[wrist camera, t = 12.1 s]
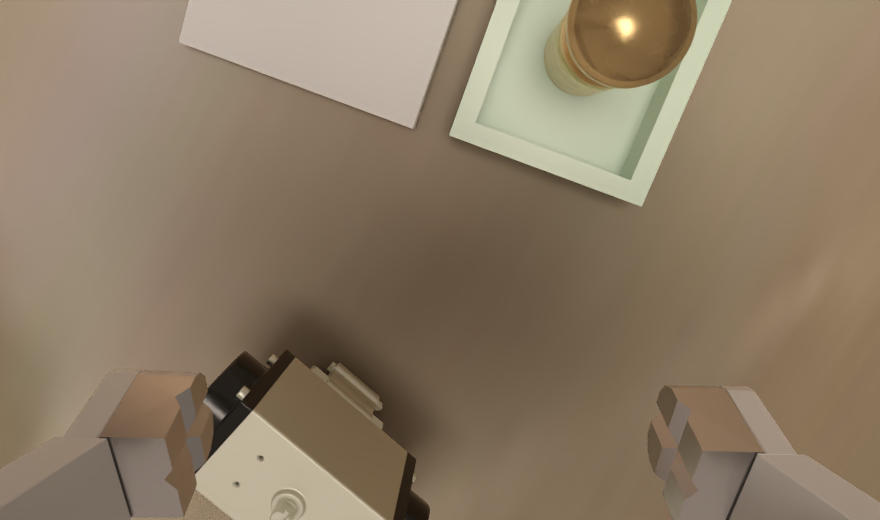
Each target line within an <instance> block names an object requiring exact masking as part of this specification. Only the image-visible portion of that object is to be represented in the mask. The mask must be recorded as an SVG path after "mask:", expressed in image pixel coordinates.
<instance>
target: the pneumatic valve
mask: <svg viewBox="0 0 880 520" xmlns="http://www.w3.org/2000/svg"><path fill="white" fill-rule="evenodd" d="M277 359H278V360H277ZM266 364H267V365H268V366H270V368H269V369H267V368H266V367H264V366H263V365H262V364H261V363H260V362H258V361H257V360H256V359H255V358H254V357H252V356H251V355H250V354H249V353H248V352H246V351H244V352H243V353H241V354H240V355H239V356H238V357H237V358H236V359H235V360H234V361H233V362H232V363H231V364H230V365H229V366H228V367H227V368H226V369H225V370H224V371H223V373H222V374H221V375H220V376H219V377H218V378H217V379H216V380H215V381H214V382H213V383H212V384H211V385H210V386H209V388H208V392H207V394H206V396H205V399H204V401H203V402H204V403H205V404H206V405H207V406H208V407H209V408H210V409H211V410H212V415H213V432H214V433H213V439H212V444H211V450H210V452H209V455H208V458H207V461H206V463H205V464H204V465H203V466H201V467H200V468H199V469H197V470H196V471H195V477H196V482H197V486H196V488H195V490H196V491H198V492H199V493H200V494H201V495H202V496H204V497H205V498H206V499H207V500H209V501H210V502H211V503H212V504H214V505H215V506H216V507H217V508H219V509H220V510H221V511H222V512H224V513H225V514H226V515H227V516H229V517H230V518H231V519H232V520H428V519H429V515H430V508H429V505H428V504H427V503H426V502H425V501H424V500H423V499H422V498H420V497H419V496H418V495H417V494H416V493H414V492H413V491H412V490H411V485H412V484H413V483H414V482H415V480H416V478H417V475H416V474H415V473H414V468H415V463H416V459H415V458H414V457H413V456H412V455H411V454H409V453H408V452H407V451H406V450H405V449H403V448H402V447H401V446H400V445H399V444H398V443H396V442H395V441H394V440H393V439H392V438H390V437H389V436H388V435H387V434H386V433H385V432H383V431H382V428H383V423H382V422H381V421H380V420H379V419H378V418H377V417H375V416H374V415H373V412H374V410H375V411H380V410H381V409H382V408H383V406H382V404H383V403H381V402H380V401H379V399H380V396H379V395H378V394H376V393H375V392H374V391H373V390H372V389H371V388H369V387H368V386H367V385H366V384H365V383H363V382H362V381H361V380H360V379H359V378H358V377H356V376H355V375H354V374H353V373H352V372H351V371H349V370H348V369H347V368H346V367H345V366H344V365H342V364H341V363H340V362H339V363H338V364H337V363H334V362H332V363H331V364H330V365H329V367H328V368H327V370H328V371H329V375H328V376H327V375H326V374H325V373H324V372H322V371H321V370H320V369H319V368H318V367H316V366H312V367H311V368H310V369H309V368H308V367H307V366H305V365H304V364H303V363H302V362H301V361H300V360H298V359H297V358H296V357H295V356H294V355H292V354H291V353H290V352H289V351H288V350H286V351H285V352H284V353H283V354H282V355H281V356H280V357H279V358H277V357H276V356H275V355H272V356H271V357H270V358H269V359H268V360H267V361H266Z"/></svg>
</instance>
